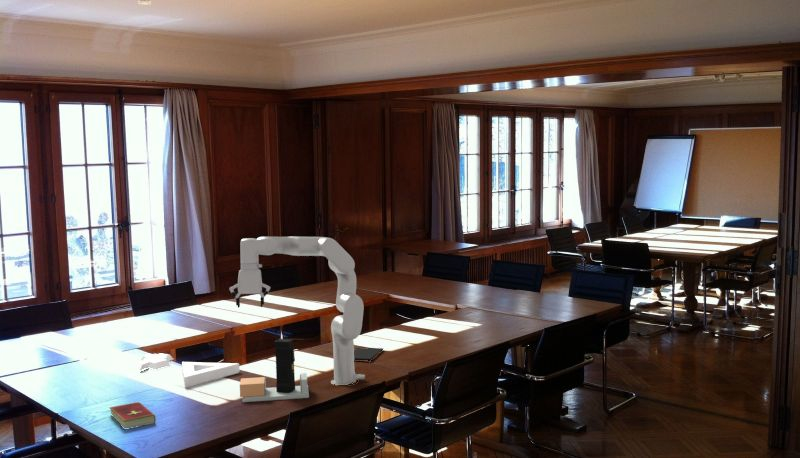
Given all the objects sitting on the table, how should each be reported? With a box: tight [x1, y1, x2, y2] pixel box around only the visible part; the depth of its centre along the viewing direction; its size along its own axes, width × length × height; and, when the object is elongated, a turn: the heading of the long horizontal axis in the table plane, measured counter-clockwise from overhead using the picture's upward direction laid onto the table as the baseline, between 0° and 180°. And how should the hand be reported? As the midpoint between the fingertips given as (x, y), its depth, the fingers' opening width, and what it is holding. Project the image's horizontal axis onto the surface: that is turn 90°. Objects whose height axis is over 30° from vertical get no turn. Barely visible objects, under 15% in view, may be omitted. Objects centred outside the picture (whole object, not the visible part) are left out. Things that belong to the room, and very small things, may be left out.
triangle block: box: [181, 361, 240, 388], centre depth 350 cm, size 30×26×6 cm
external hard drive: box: [354, 347, 384, 361], centre depth 382 cm, size 14×23×3 cm, turn 164°
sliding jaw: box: [239, 376, 267, 398], centre depth 318 cm, size 11×10×5 cm
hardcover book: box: [109, 401, 156, 428], centre depth 291 cm, size 12×21×4 cm, turn 35°
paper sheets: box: [136, 353, 175, 370], centre depth 372 cm, size 35×20×6 cm, turn 10°
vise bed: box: [241, 372, 310, 403], centre depth 319 cm, size 28×14×8 cm, turn 99°
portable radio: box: [274, 334, 296, 393], centre depth 319 cm, size 8×6×25 cm
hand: (250, 306), depth 315 cm, fingers open, 9 cm apart
